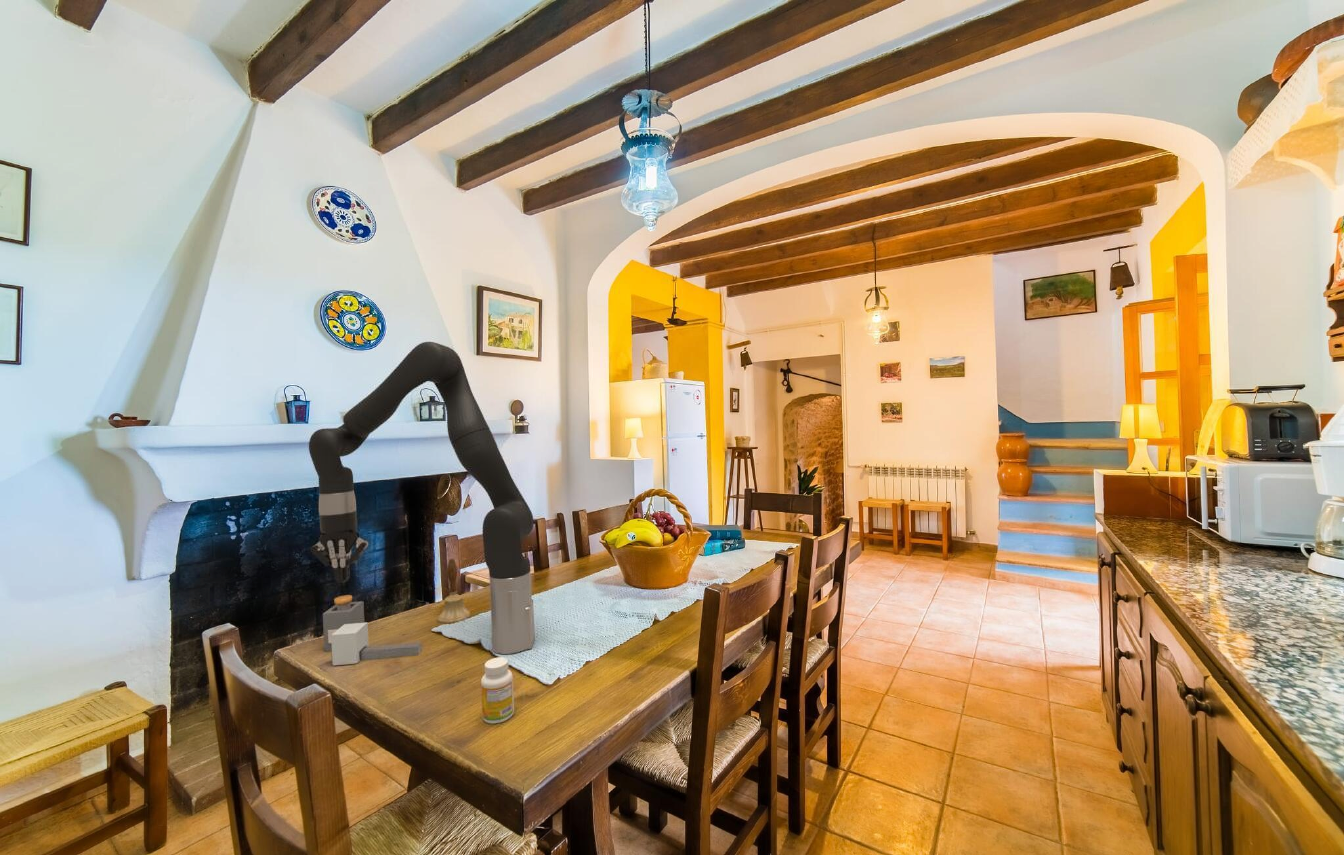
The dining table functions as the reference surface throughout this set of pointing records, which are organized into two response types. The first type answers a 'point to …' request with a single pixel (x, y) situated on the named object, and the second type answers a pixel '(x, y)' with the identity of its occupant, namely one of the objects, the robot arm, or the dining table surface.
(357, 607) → the grey square housing
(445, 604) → the hand bell
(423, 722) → the dining table surface
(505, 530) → the robot arm
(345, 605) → the ball
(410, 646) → the rail
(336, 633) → the carriage
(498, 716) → the supplement bottle
